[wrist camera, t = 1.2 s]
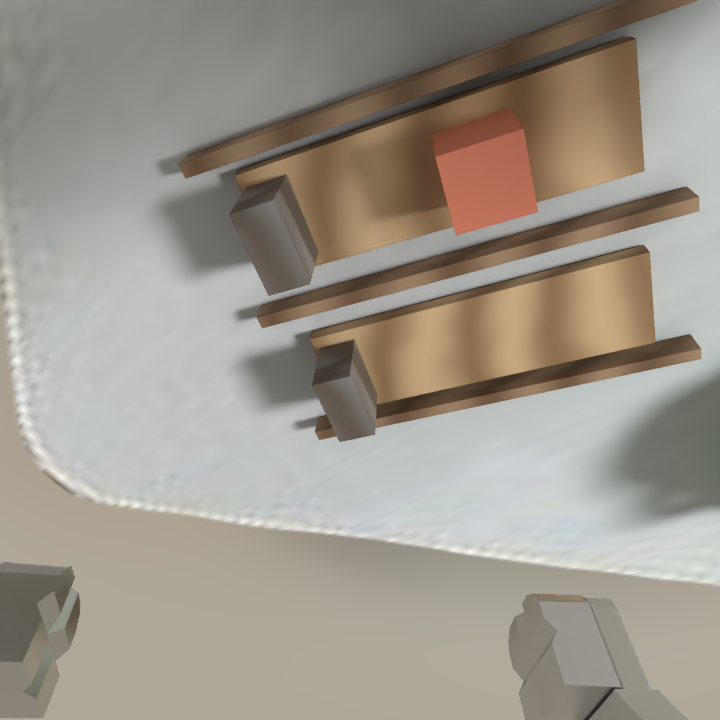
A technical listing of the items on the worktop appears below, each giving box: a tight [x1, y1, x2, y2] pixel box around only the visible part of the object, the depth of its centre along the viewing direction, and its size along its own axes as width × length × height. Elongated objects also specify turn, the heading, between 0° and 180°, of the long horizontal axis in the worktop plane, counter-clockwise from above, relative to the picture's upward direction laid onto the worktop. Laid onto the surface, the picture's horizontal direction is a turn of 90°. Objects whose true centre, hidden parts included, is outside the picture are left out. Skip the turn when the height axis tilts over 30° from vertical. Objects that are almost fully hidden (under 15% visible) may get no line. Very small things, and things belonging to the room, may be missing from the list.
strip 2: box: [310, 245, 655, 442], centre depth 45 cm, size 26×8×6 cm, turn 109°
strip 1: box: [229, 36, 644, 296], centre depth 37 cm, size 26×8×6 cm, turn 109°
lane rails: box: [179, 0, 701, 440], centre depth 43 cm, size 32×26×2 cm
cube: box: [432, 108, 538, 235], centre depth 36 cm, size 5×5×5 cm
